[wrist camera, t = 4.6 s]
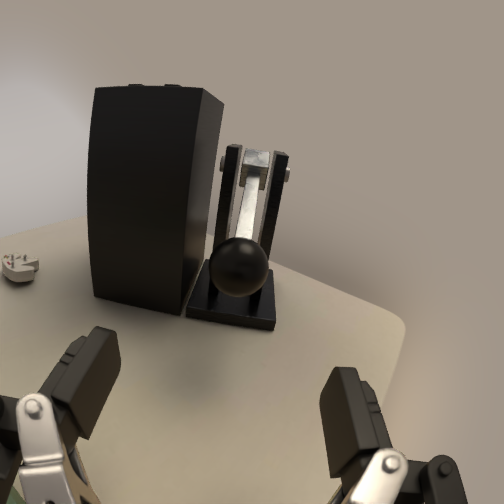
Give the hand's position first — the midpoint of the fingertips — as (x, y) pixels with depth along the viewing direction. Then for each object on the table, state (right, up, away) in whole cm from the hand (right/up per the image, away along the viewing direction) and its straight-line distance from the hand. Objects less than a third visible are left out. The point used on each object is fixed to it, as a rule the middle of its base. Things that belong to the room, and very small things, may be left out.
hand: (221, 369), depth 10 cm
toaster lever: (+1, +6, +13) cm, 14 cm away
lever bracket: (-1, 0, +20) cm, 20 cm away
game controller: (-26, 0, +12) cm, 29 cm away
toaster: (-10, +2, +21) cm, 23 cm away
